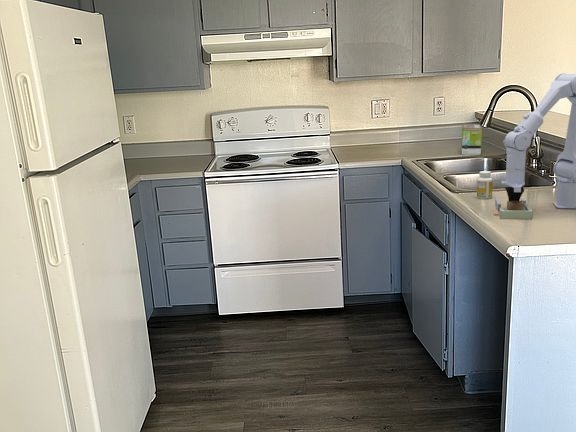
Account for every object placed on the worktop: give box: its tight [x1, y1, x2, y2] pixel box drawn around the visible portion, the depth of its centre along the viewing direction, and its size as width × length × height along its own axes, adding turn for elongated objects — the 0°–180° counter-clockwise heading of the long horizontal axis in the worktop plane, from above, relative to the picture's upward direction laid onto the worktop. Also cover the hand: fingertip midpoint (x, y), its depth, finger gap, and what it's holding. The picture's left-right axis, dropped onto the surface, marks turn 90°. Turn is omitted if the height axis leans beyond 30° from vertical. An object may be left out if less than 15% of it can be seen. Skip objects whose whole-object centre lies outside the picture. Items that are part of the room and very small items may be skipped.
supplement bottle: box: [476, 170, 494, 200], centre depth 208 cm, size 5×5×10 cm
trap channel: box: [492, 197, 533, 220], centre depth 188 cm, size 12×18×2 cm
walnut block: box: [506, 200, 525, 211], centre depth 183 cm, size 4×4×4 cm
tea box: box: [460, 124, 483, 156], centre depth 303 cm, size 15×10×15 cm
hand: (513, 208), depth 187 cm, fingers closed
